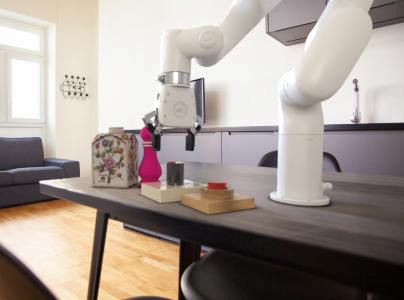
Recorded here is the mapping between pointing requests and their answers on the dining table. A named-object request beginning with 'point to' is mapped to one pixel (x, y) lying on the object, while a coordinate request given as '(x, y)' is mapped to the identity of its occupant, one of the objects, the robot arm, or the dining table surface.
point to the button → (217, 184)
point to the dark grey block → (175, 173)
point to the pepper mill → (149, 160)
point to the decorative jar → (114, 159)
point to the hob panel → (169, 190)
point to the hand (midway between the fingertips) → (173, 150)
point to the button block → (217, 200)
